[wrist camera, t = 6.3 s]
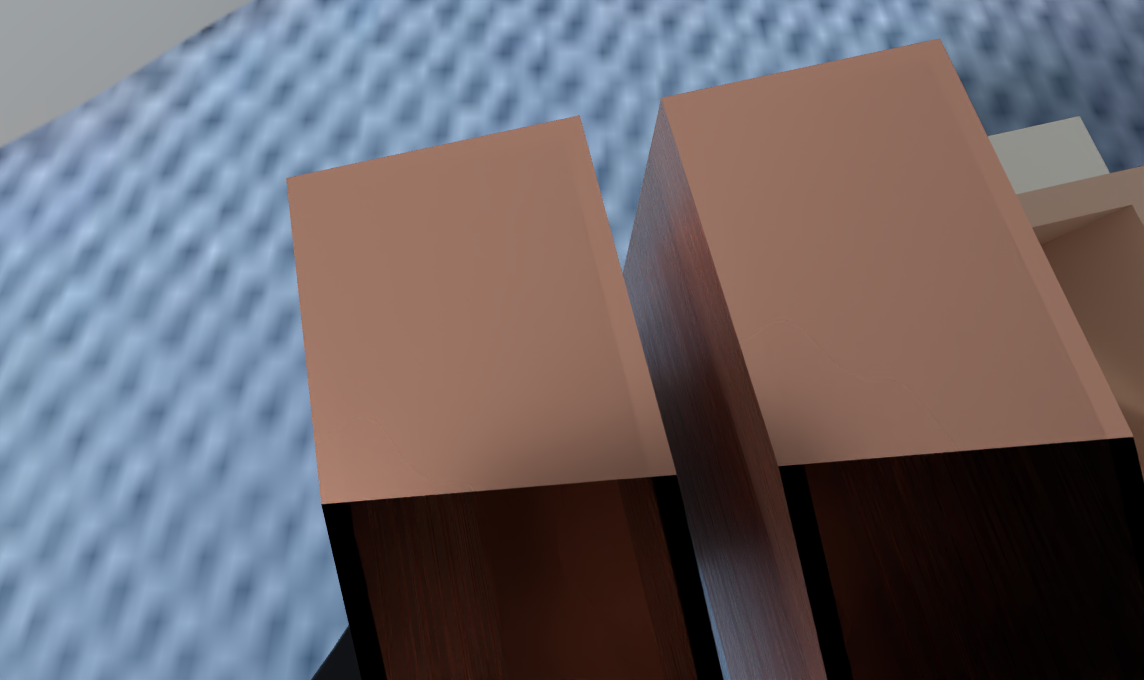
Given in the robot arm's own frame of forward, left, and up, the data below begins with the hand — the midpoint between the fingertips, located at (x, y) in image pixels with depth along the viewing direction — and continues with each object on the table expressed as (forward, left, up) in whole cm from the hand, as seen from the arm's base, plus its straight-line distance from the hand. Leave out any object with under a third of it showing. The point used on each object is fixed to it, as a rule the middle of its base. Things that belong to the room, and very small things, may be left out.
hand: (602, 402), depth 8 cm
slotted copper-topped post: (-1, +1, -7) cm, 7 cm away
